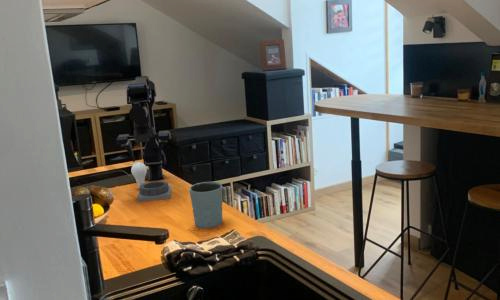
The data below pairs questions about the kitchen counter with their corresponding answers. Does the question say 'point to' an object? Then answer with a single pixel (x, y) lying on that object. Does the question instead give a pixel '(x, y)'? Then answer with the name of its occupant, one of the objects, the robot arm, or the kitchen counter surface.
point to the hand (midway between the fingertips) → (146, 160)
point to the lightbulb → (139, 172)
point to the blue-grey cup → (207, 204)
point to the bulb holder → (154, 191)
